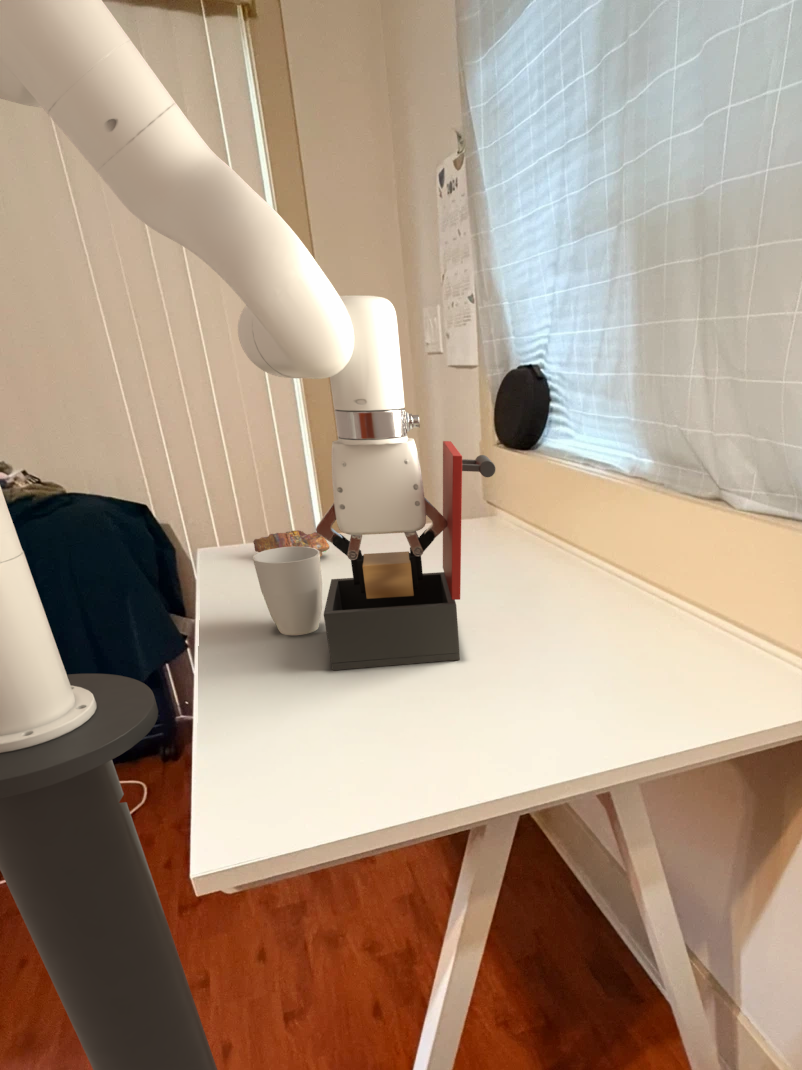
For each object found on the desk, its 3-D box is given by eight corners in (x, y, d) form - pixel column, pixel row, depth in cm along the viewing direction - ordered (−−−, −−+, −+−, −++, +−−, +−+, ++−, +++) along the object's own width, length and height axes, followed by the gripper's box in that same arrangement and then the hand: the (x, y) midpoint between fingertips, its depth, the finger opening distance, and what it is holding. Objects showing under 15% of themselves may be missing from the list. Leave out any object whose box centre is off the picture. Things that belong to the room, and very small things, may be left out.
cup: (300, 615, 99) (288, 543, 94) (343, 624, 96) (332, 551, 91) (254, 633, 93) (238, 557, 88) (298, 643, 89) (284, 566, 85)
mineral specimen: (262, 562, 118) (251, 523, 118) (261, 575, 125) (251, 539, 125) (334, 552, 123) (324, 514, 123) (329, 566, 130) (319, 530, 130)
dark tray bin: (332, 670, 82) (323, 613, 79) (338, 629, 94) (331, 579, 91) (460, 659, 84) (456, 604, 81) (450, 621, 96) (446, 571, 93)
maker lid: (452, 455, 74) (501, 457, 75) (442, 440, 86) (485, 442, 87) (451, 599, 81) (496, 599, 82) (442, 567, 93) (482, 568, 94)
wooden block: (366, 599, 83) (362, 565, 81) (367, 585, 88) (363, 553, 86) (413, 596, 84) (410, 562, 82) (412, 582, 89) (409, 551, 87)
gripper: (447, 422, 82) (457, 575, 90) (294, 426, 79) (319, 584, 87) (453, 428, 75) (463, 592, 84) (286, 433, 72) (314, 602, 81)
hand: (389, 586), depth 86 cm, fingers closed on wooden block, 5 cm apart
